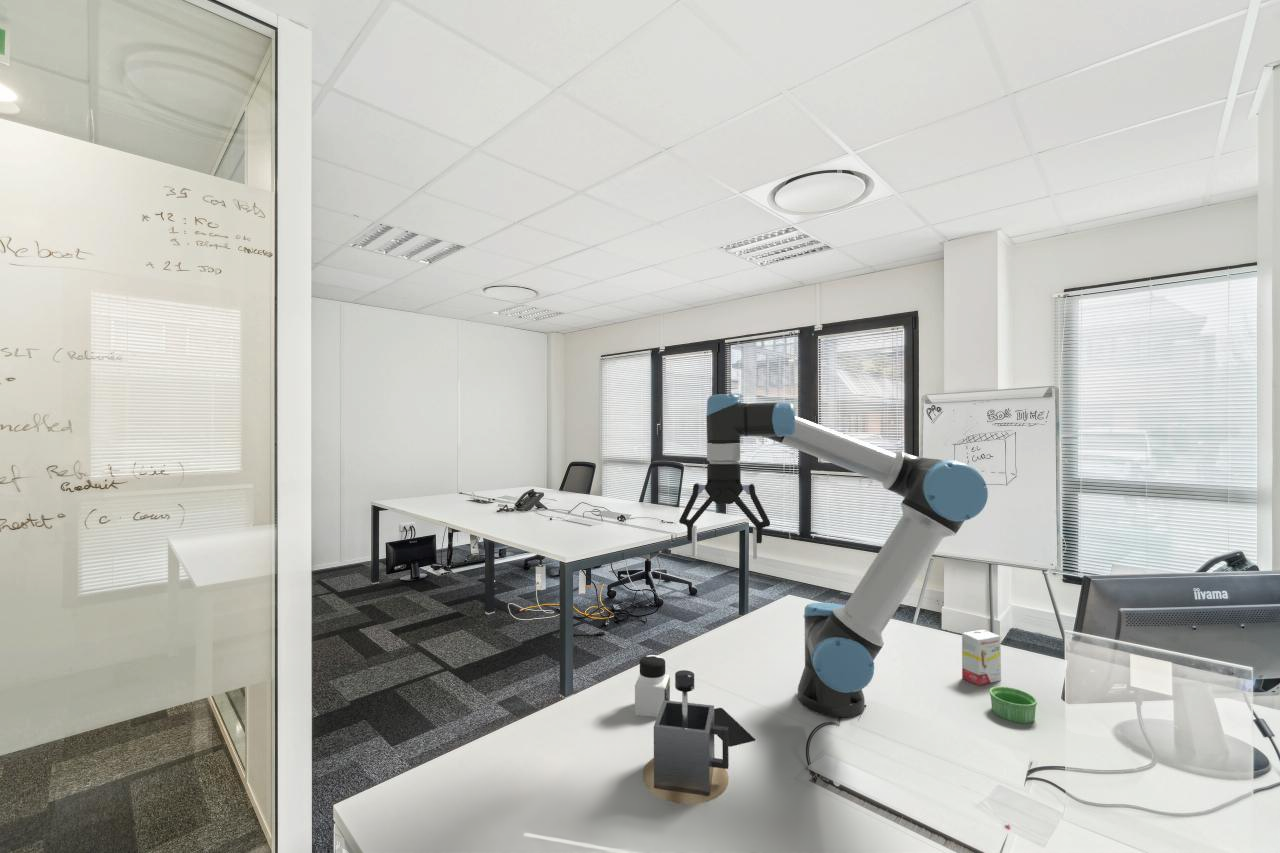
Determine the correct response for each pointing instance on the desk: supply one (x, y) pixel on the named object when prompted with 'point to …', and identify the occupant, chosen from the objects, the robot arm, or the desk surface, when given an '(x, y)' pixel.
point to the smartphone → (731, 728)
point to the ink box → (981, 657)
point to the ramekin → (1013, 704)
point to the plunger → (684, 691)
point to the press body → (687, 748)
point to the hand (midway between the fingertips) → (724, 556)
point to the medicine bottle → (651, 686)
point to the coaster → (716, 790)
